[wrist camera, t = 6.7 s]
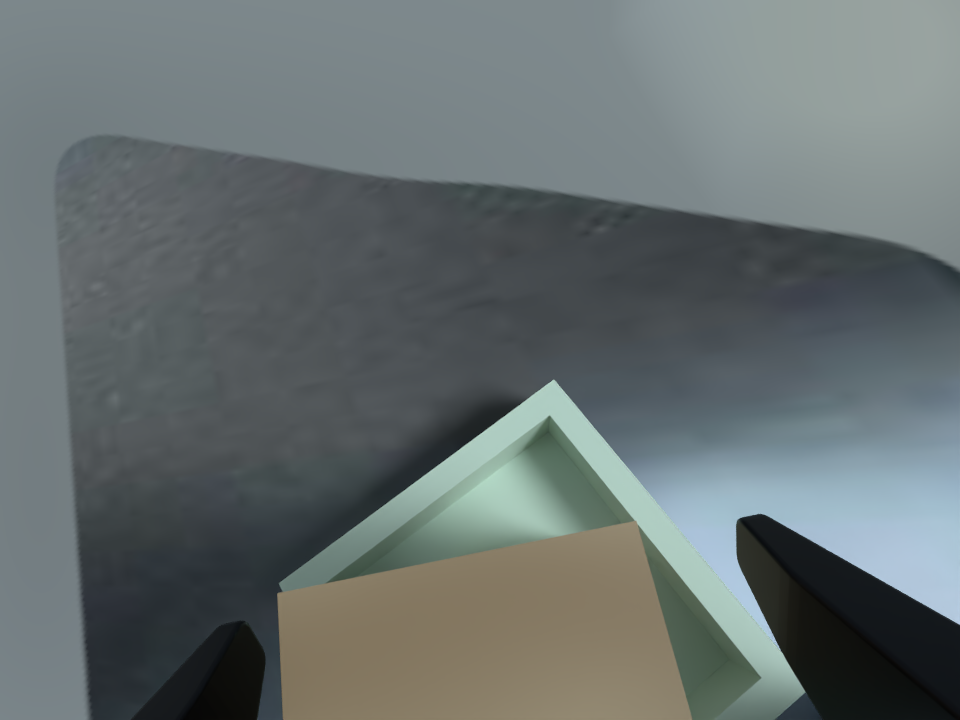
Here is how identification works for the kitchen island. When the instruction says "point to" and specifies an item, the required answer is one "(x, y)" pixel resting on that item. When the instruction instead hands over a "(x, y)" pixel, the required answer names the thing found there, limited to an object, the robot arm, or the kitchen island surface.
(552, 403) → the tray
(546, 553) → the oak block
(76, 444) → the kitchen island surface
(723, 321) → the kitchen island surface
